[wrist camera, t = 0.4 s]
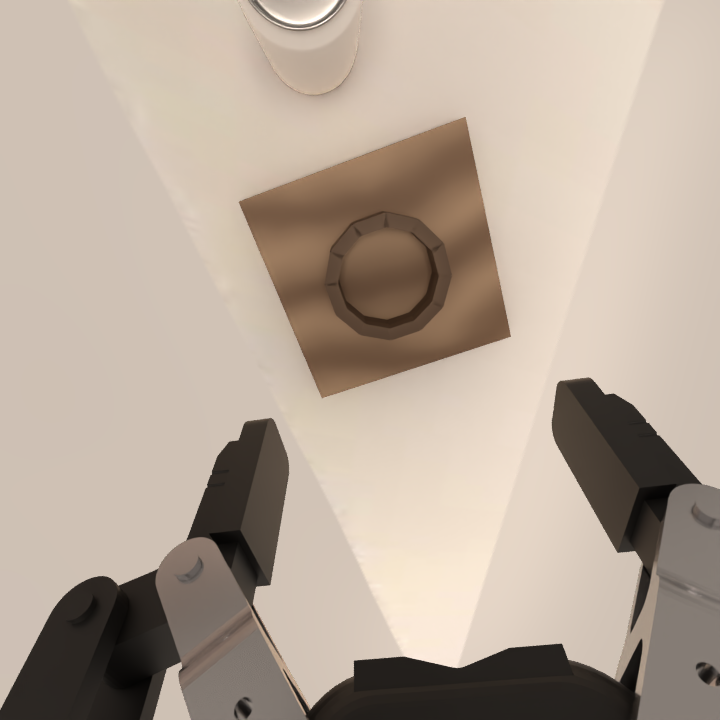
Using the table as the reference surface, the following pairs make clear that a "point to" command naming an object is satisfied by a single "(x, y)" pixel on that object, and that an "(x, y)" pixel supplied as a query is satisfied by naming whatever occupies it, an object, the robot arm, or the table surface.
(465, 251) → the socket board
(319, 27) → the can
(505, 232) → the table surface
